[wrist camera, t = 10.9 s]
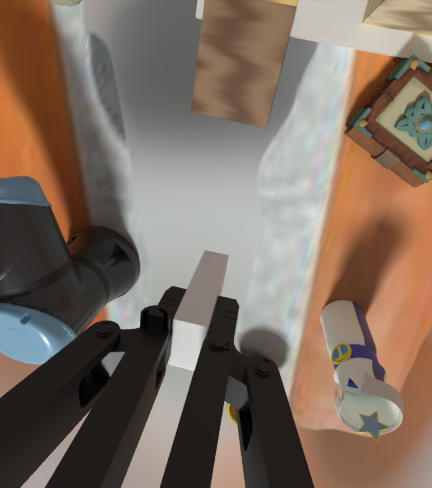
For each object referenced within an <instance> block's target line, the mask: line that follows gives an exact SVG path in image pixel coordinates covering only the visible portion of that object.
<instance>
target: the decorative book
mask: <svg viewBox="0 0 432 488" xmlns="http://www.w3.org/2000/svg"><path fill="white" fill-rule="evenodd" d="M430 69H431V68H430V67H429V66H428V65H427V64H425V63H424V62H423V61H422V60H421V59H419V58H418V57H417V56H416V55H412V56H411V57H410V58H409V59H407V58H403V59H402V60H401V62H400V63H399V64H398V65H397V66H396V68H395V69H394V70H393V71H392V72H391V74H390V75H389V76H388V77H387V78H386V80H387V81H386V82H385V83H384V85H383V86H382V87H381V88H380V89H379V90H378V92H377V93H376V94H375V95H374V96H373V98H372V99H371V100H370V101H369V102H368V104H367V105H366V106H365V107H364V108H361V109H360V111H359V112H358V113H357V114H356V115H355V116H354V118H353V119H352V120H351V121H350V122H349V126H348V128H347V129H346V131H345V134H346V135H347V136H348V137H349V138H351V139H352V140H353V141H355V142H356V143H357V144H358V145H360V146H361V147H362V148H364V149H365V150H366V151H367V152H369V153H370V154H371V157H372V158H373V159H374V160H376V161H377V162H378V163H380V164H381V165H382V166H384V167H385V168H386V169H390V170H392V171H393V172H394V173H396V174H397V175H398V176H399V177H401V178H402V179H403V180H405V181H406V182H407V183H408V184H410V185H411V186H412V187H418V186H420V185H421V184H423V183H424V182H426V183H428V182H429V181H430V180H431V179H432V72H431V71H430Z"/></svg>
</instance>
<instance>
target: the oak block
mask: <svg viewBox="0 0 432 488" xmlns="http://www.w3.org/2000/svg"><path fill="white" fill-rule="evenodd" d="M362 23H364V24H369V25H374V26H380V27H385V28H390V29H396V30H401V31H406V32H412V33H417V34H422V35H428V36H432V0H370V1H369V4H368V7H367V9H366V12H365V15H364V18H363V21H362Z"/></svg>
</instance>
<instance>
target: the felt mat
mask: <svg viewBox="0 0 432 488" xmlns="http://www.w3.org/2000/svg"><path fill="white" fill-rule="evenodd" d="M369 1H370V0H298V4H297V10H296V14H295V18H294V22H293V26H292V30H291V34H290V37H295V38H301V39H305V40H311V41H316V42H321V43H326V44H331V45H336V46H341V47H346V48H351V49H357V50H362V51H367V52H372V53H377V54H382V55H387V56H392V57H398V58H407V59H409V58H410V57H411V56H412V55H416V56H417V57H418V58H419V59H421V60H422V61H423V62H424V63H428V64H432V36H428V35H422V34H417V33H412V32H406V31H401V30H396V29H390V28H385V27H380V26H374V25H369V24H364V23H362V21H363V18H364V15H365V12H366V9H367V7H368V4H369ZM203 8H204V0H198V3H197V10H196V18H198V19H202V17H203Z"/></svg>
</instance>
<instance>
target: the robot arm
mask: <svg viewBox="0 0 432 488" xmlns="http://www.w3.org/2000/svg"><path fill="white" fill-rule="evenodd" d="M51 207H52V206H51V204H50V203H49V202H48V201H47V199H46V197H45V195H44V192H43V190H42V188H41V186H40V184H39V183H38V182H37V181H36V180H35V179H33V178H31V177H28V176H16V177H7V178H0V352H1V353H2V354H4V355H6V356H8V357H11V358H13V359H15V360H17V361H20V362H24V363H29V364H42V365H41V366H40V367H39V368H37V369H36V370H35V371H34V372H33V373H31V374H30V375H28V376H27V377H26V378H25V379H24V380H22V381H21V382H20V383H18V384H17V385H16V386H15V387H14V388H12V389H11V390H10V391H8V392H7V393H6V394H5V395H3V396H2V397H1V398H0V488H20V487H21V486H22V485H23V484H24V483H25V482H26V481H27V480H28V479H29V477H30V476H31V475H32V474H33V473H34V472H35V471H36V470H37V469H38V467H39V466H40V465H41V464H42V463H43V462H44V461H45V460H46V458H47V457H48V456H49V455H50V454H51V453H52V452H53V451H54V450H55V449H56V447H57V446H58V445H59V444H60V443H61V442H62V441H63V440H64V438H65V437H66V436H67V435H68V434H69V433H70V432H71V431H72V430H73V428H74V427H75V426H76V425H77V424H78V423H79V422H80V421H81V420H82V418H83V417H84V416H85V415H86V414H87V413H88V412H89V411H90V410H91V411H90V412H89V414H88V416H87V417H86V419H85V421H84V423H83V424H82V426H81V428H80V429H79V431H78V433H77V434H76V436H75V438H74V439H73V441H72V443H71V445H70V446H69V448H68V450H67V451H66V453H65V455H64V456H63V458H62V460H61V461H60V463H59V465H58V466H57V468H56V470H55V472H54V473H53V475H52V477H51V478H50V480H49V482H48V483H47V485H46V487H45V488H121V486H122V483H123V480H124V478H125V475H126V473H127V470H128V467H129V465H130V463H131V460H132V457H133V455H134V452H135V450H136V447H137V445H138V442H139V440H140V437H141V435H142V432H143V429H144V427H145V424H146V422H147V419H148V417H149V414H150V412H151V409H152V406H153V404H154V402H155V399H156V396H157V394H158V391H159V389H160V386H161V384H162V381H163V378H164V376H165V372H166V365H167V363H168V360H169V365H172V366H177V367H181V368H185V369H189V370H193V371H194V374H193V377H192V380H191V384H190V387H189V391H188V394H187V397H186V401H185V404H184V408H183V411H182V414H181V418H180V421H179V424H178V428H177V432H176V435H175V438H174V441H173V445H172V448H171V452H170V455H169V458H168V462H167V465H166V468H165V472H164V475H163V479H162V482H161V485H160V488H210V486H211V480H212V474H213V467H214V462H215V455H216V449H217V443H218V437H219V431H220V425H221V418H222V412H223V406H224V401H226V402H227V403H229V404H230V405H232V406H234V407H235V408H236V418H237V425H238V432H239V440H240V449H241V456H242V464H243V472H244V480H245V487H246V488H314V485H313V482H312V478H311V475H310V472H309V469H308V465H307V461H306V458H305V455H304V452H303V448H302V445H301V442H300V438H299V435H298V432H297V429H296V425H295V422H294V419H293V415H292V412H291V409H290V406H289V402H288V399H287V396H286V392H285V389H284V386H283V382H282V379H281V376H280V373H279V369H278V368H277V366H276V364H275V363H274V362H273V361H272V360H270V359H268V358H266V357H263V356H254V357H252V358H250V359H249V358H247V357H245V356H244V355H242V354H241V353H240V352H239V351H238V350H237V349H236V348H235V345H234V334H235V329H236V323H237V317H238V310H239V305H238V303H237V300H235V299H231V298H226V297H222V296H221V292H222V288H223V283H224V277H225V272H226V267H227V261H228V255H225V254H220V253H215V252H210V251H206V250H205V251H204V254H203V256H202V258H201V260H200V262H199V264H198V266H197V269H196V271H195V273H194V275H193V278H192V279H191V282H190V284H189V286H188V288H187V289H183V288H179V287H174V286H172V287H170V288H169V289H168V290H166V291H165V293H164V295H163V297H162V298H161V300H160V302H159V303H158V305H157V306H156V305H154V306H148V307H146V308H144V309H143V310H142V311H141V317H140V328H136V329H120V327H119V325H118V324H117V323H115V322H113V321H100V322H97V323H95V324H93V325H92V326H90V327H89V328H88V329H87V330H85V329H86V328H87V326H88V325H89V324H90V323H91V322H92V320H93V319H94V318H95V317H96V316H97V314H98V313H99V312H100V311H101V310H102V308H103V307H104V306H105V305H106V304H107V303H108V302H110V301H112V300H114V299H116V298H118V297H120V296H122V295H124V294H126V293H127V292H128V291H129V290H130V289H131V288H132V287H133V286H134V284H135V283H136V282H137V280H138V278H139V274H140V262H139V258H138V256H137V253H136V251H135V250H134V248H133V247H132V245H131V244H130V243H129V242H128V241H127V240H126V239H125V238H124V237H123V236H122V235H120V234H119V233H117V232H115V231H113V230H111V229H108V228H105V227H99V226H92V227H87V228H84V229H82V230H80V231H79V232H77V233H76V234H74V235H73V236H72V237H71V238H70V239H69V240H68V241H67V243H65V240H64V238H63V235H62V233H61V230H60V228H59V226H58V223H57V221H56V218H55V216H54V214H53V211H52V209H51ZM84 330H85V331H84ZM83 331H84V332H83ZM82 332H83V333H82Z"/></svg>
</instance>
